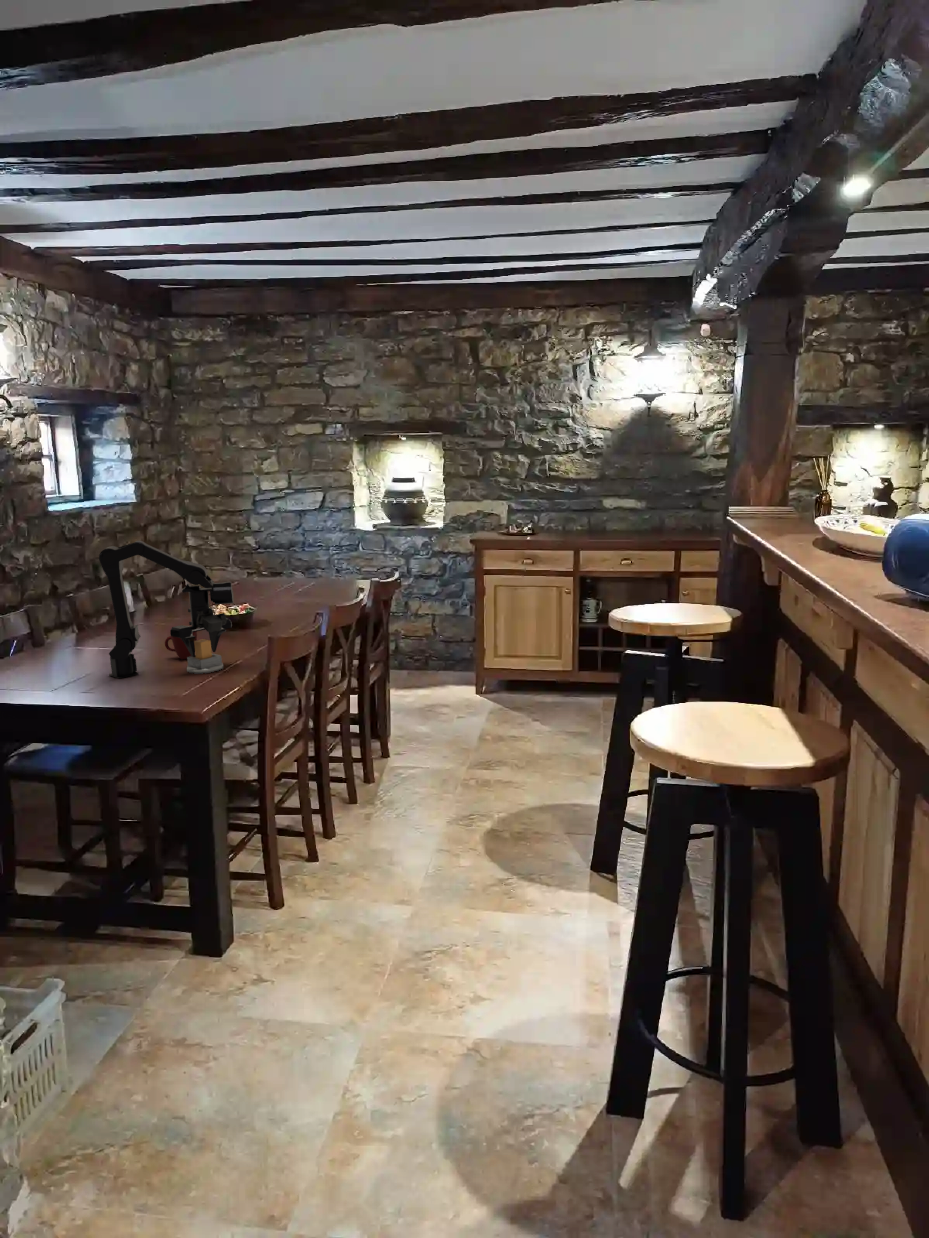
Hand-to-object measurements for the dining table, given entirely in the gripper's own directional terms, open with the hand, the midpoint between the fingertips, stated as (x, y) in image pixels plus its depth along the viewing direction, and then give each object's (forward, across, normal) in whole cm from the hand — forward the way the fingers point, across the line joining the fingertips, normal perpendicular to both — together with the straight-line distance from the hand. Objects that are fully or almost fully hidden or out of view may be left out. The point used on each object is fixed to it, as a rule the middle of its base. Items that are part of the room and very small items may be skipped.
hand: (203, 654), depth 278 cm
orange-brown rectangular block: (+4, 0, 0) cm, 4 cm away
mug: (+5, +4, +19) cm, 20 cm away
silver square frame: (+5, 0, 0) cm, 5 cm away
